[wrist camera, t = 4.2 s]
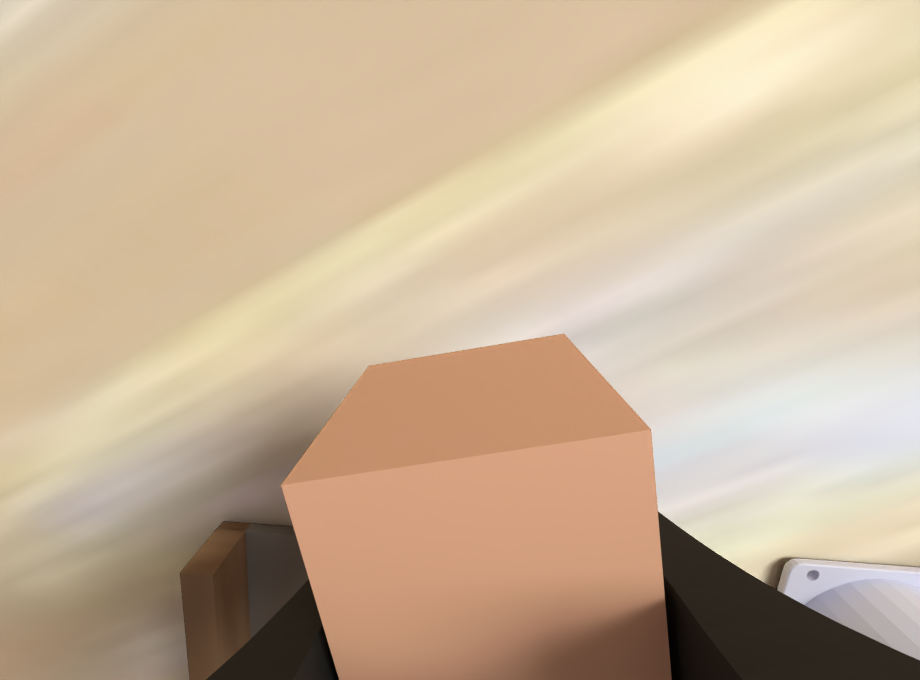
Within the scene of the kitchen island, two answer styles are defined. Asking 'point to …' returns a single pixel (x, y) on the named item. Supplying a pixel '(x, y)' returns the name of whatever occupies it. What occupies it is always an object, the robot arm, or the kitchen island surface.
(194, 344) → the kitchen island surface
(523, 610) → the block
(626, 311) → the kitchen island surface
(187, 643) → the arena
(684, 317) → the kitchen island surface
